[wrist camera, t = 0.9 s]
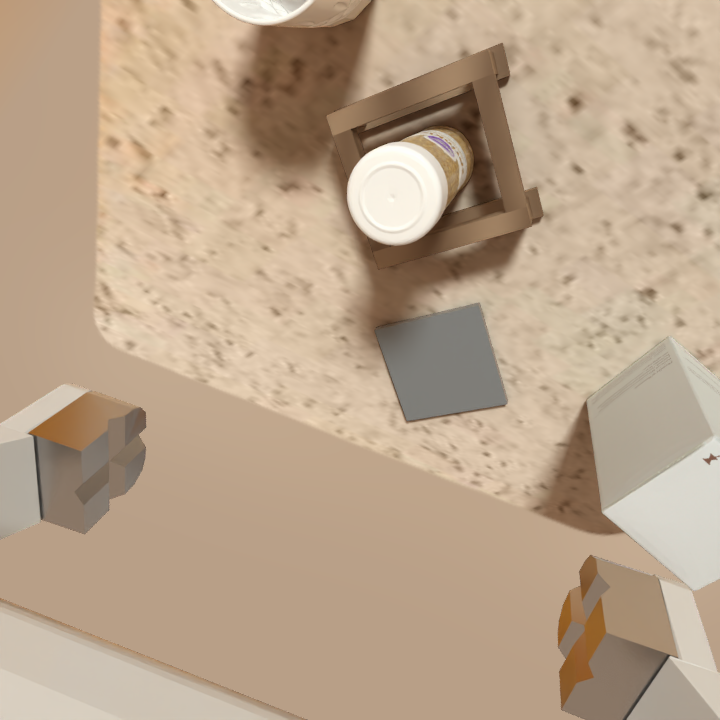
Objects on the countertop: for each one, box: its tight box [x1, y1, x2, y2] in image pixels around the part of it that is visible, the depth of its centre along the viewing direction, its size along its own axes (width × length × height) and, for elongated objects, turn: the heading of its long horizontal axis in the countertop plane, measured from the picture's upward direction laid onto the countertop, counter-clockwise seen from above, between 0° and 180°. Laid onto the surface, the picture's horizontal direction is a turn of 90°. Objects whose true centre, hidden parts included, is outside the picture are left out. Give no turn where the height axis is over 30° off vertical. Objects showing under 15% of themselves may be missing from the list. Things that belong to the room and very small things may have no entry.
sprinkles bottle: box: [347, 126, 474, 246], centre depth 32 cm, size 5×5×13 cm
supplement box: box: [587, 336, 720, 591], centre depth 35 cm, size 7×7×13 cm
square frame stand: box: [326, 43, 543, 270], centre depth 36 cm, size 11×10×4 cm
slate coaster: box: [374, 303, 508, 421], centre depth 44 cm, size 8×8×1 cm
